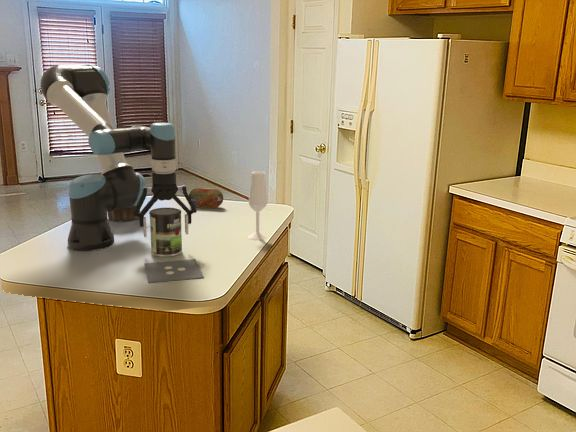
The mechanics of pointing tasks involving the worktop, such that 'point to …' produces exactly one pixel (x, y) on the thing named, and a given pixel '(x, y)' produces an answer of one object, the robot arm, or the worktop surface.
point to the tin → (206, 197)
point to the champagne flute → (257, 199)
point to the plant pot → (122, 214)
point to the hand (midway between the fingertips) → (166, 234)
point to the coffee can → (165, 232)
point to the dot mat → (173, 270)
